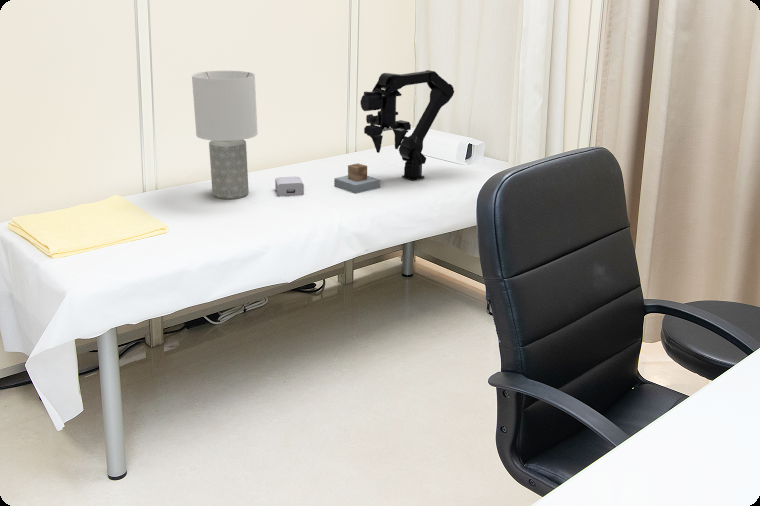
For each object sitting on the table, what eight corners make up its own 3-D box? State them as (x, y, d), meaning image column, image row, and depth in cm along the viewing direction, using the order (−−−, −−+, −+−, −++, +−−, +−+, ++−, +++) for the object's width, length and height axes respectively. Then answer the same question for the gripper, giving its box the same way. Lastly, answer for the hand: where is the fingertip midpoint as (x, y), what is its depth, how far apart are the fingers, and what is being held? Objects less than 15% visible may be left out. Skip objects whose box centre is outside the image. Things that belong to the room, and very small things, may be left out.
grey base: (359, 180, 281) (359, 172, 280) (380, 187, 273) (380, 179, 272) (334, 186, 274) (334, 178, 273) (355, 193, 266) (355, 185, 265)
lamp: (238, 183, 276) (232, 69, 261) (271, 195, 262) (267, 75, 247) (189, 193, 262) (179, 74, 247) (222, 206, 249) (214, 81, 234)
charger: (298, 184, 277) (304, 195, 263) (273, 185, 275) (277, 197, 261) (298, 171, 275) (303, 182, 261) (273, 172, 273) (277, 184, 259)
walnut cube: (358, 176, 276) (358, 163, 274) (367, 179, 272) (367, 165, 270) (348, 178, 273) (348, 165, 271) (356, 181, 269) (356, 168, 267)
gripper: (391, 103, 282) (391, 143, 287) (354, 108, 270) (354, 150, 276) (412, 107, 274) (411, 148, 280) (374, 113, 262) (374, 156, 268)
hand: (387, 150), depth 276 cm, fingers open, 9 cm apart
